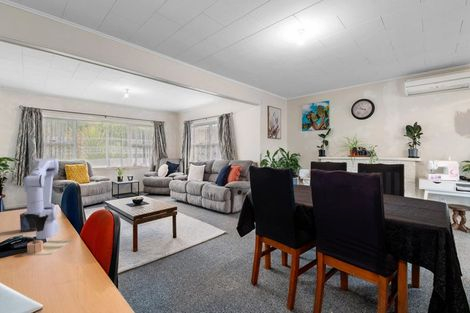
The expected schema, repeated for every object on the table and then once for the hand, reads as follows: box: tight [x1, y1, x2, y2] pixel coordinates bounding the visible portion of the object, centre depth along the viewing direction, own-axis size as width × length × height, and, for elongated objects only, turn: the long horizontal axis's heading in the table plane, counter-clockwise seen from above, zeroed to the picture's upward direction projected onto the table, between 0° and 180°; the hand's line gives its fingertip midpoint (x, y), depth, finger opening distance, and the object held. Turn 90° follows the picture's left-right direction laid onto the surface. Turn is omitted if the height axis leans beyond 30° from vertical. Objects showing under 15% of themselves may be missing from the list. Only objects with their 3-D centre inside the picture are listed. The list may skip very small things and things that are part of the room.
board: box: [20, 239, 73, 257], centre depth 104 cm, size 16×12×6 cm
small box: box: [19, 212, 36, 233], centre depth 131 cm, size 11×6×10 cm, turn 105°
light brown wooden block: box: [26, 239, 44, 254], centre depth 99 cm, size 5×5×4 cm
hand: (36, 229), depth 104 cm, fingers open, 7 cm apart
